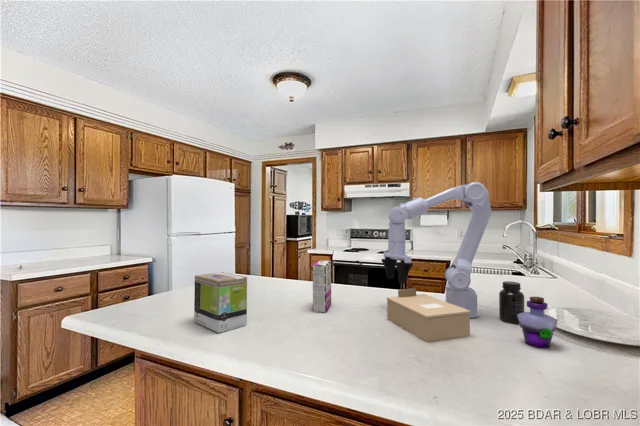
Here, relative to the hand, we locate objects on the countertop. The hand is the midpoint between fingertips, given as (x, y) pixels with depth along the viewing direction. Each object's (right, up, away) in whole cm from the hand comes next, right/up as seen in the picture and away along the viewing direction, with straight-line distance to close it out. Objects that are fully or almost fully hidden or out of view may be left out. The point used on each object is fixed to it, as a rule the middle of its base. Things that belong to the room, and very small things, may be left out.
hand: (396, 281), depth 109 cm
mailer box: (+5, -10, -15) cm, 19 cm away
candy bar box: (-26, -11, +4) cm, 28 cm away
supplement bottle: (+34, -11, -10) cm, 37 cm away
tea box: (-57, -11, -12) cm, 59 cm away
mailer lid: (+5, -4, -15) cm, 16 cm away
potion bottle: (+29, -10, -28) cm, 42 cm away
